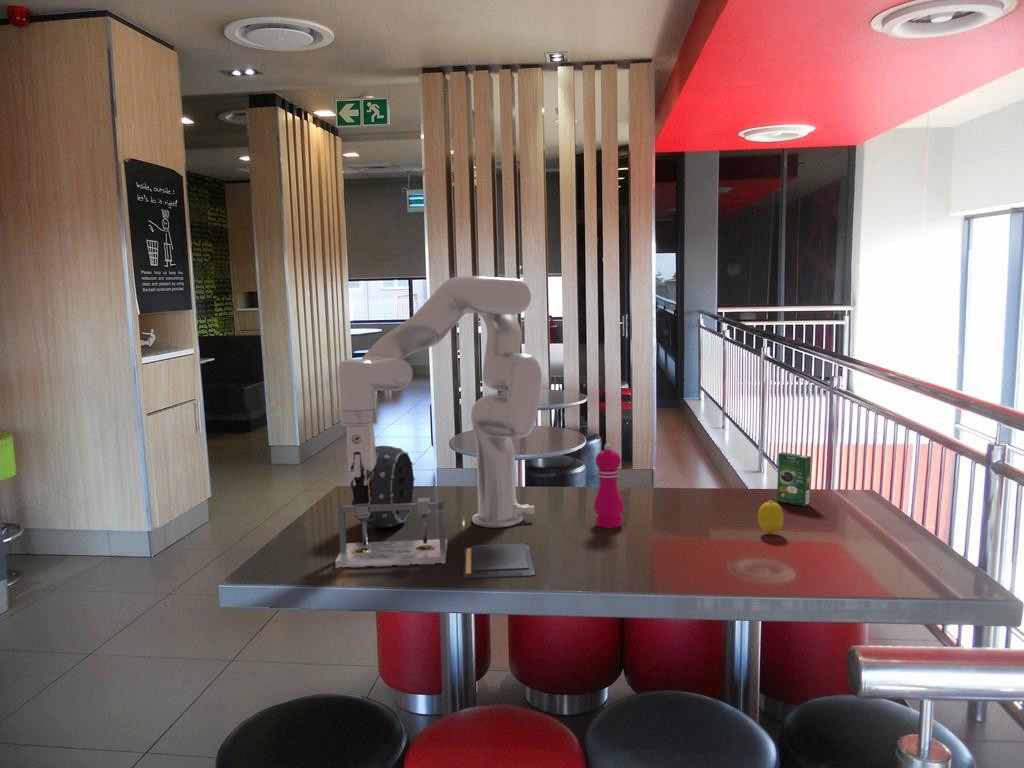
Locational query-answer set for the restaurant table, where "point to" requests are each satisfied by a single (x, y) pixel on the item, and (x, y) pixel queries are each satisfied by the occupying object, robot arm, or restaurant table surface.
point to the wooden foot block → (364, 515)
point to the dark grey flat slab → (498, 561)
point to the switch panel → (394, 550)
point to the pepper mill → (608, 490)
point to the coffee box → (793, 479)
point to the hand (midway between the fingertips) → (363, 500)
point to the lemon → (770, 517)
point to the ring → (390, 486)
